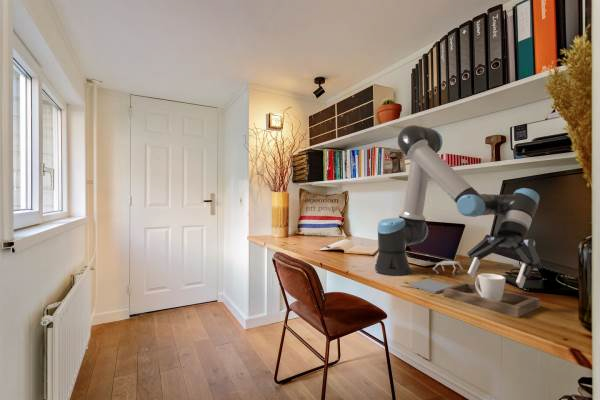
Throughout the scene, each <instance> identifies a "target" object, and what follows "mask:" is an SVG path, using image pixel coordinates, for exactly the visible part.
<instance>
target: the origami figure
mask: <svg viewBox="0 0 600 400" xmlns="http://www.w3.org/2000/svg"><path fill="white" fill-rule="evenodd" d="M455 265H457V266H459V270H457V273H458V274H460V272H461V271H463V270H464V269H463V267H462V265H461V263H460V261H455V260H454V261H453V260H442V261H439V262H436V264H435V266H434V267H432V270H433V271H435V272H436V273H435V275H438V274H439V273H440V272H439V271H438V270H436V268H438V266H441V268H442V272H445V267H444V266H452V267H453V271H452V272H451V274H452V275H453V276H454V275H455V271H456V269H457V267H456V266H455Z"/></svg>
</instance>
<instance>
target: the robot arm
mask: <svg viewBox="0 0 600 400" xmlns="http://www.w3.org/2000/svg"><path fill="white" fill-rule="evenodd" d="M397 136H398V137H397V145H398V147H399V149H400V151H401V152H402V153H403V154H404V155H405V156H406V157H407V158H408V159H409V160H410V163H409V169H408V176H407V183H406V190H405V197H404V204H403V211H402V212H401V213H399V215H398V217H391V218H383V219H381V220H379V221H378V223H377V245H378V247H377V248H378V249H377V250H378V254H377V258H376V262H375V264H374V271H375V270H376V271H377V272H376V271H375V272H376V273H378V272H380V273H379V274H381V273H383V274H382V275H386V274H389V275H388V276H403V275H405V276H407V275H408V274H411V271H412V270H411V269H412V268H411V265H410V263H409V260H408V257H407V252H406V250H407V249H406V248H407V246H411V245H417V244H419V243H423V242H424V241H425V240H426V239H427V237H428V235H429V227H428V226H427V223H426V217H425V215H424V214H423V213H424V206H425V201H426V195H427V189H428V182H429V177H430V178H431V179H432V180H433V181H434V182H435V183H436V184H437V185H438V186H439V187H440V188H441V189H442V190H443V191H444V193H446V194H447V195H448V196H449V197H450V198H451V200H452V201H454V203H456V209H457V211H458V213H459V214H461V215H462V216H464V217H469V218H470V217H472V218H475V217H480V216H504V217H503V218H502V221H501V223H500V225H499V228H498V230H497V233H496V234H497V235H495V236H491V235H490V234H485V236H484V237H483V239H482V240H481V241H480V242H478V243H477V244H476V245H475V246H473V247H472V248H471V249H470V250H469V251H467V252H466V254H467V256H468V257H469V258H470V260H469V263H468V266H469V269H468V271H467V274H468V275H469V277H470V278H471V279H474V278H475V276H476V272H477V271H478V269H479V266H480V264H481V261H480V260H482V259H484V258H485V257H486V258H487V257H488V256H489V255H491V254H493V253H495V252H499V251H501V252H505V251H506V252H510V253H512V252H516V253H517V254H518V256H519V257H520V259H521V260H522V261H523V263H522V264H521V267H520V270H519V272H518V275H517V278H516V280H515V283H516V285H517V287H518V288H521V289H523V287H524V284H525V282H526V278H528V279H529V278H530V277H531V276H532V273H533V270H535V269H538V270H542V269H543V266H542V263H541V260H540V257H539V254H538V252H537V251H536V248H537V247H536V245H537V243H536V241H535V240H534V238H533V237H529V238H528V239H526V238H527V235H528V232H529V229H530V227H531V224H532V221H533V218H534V216H535V214H536V211H537V209H538V207H539V203H540V195H539V194H538V193H537V191H535V190H534V189H531V188H526V187H522V188H519V189H516V190H515V191H514V192H513V194H489V193H488V194H487V193H479V192H478V191H477V190H476V189H475V188H474V187H473V186H472V185H470V184H469V183H468V182H467V181H466V180H465V179H464V178H463V177H462V176H461V175H460V174H459V173H458V172H457V171H456V170H455V169H454V168H453V167H452V166H451V165H450V164H448V163H447V162H446V161H445V160H444V159H443V158H442V157H441V156H440V155H439V154H438V153H439V152H440V151H441V149H442V147H443V137H442V135H441V133H440V132H439V131H438V130H435V129H433V128H431V127H430V128H429V127H424V126H419V125H416V124H415V125H413V124H412V125H408V126H405V127H404V128H403V129H402V130H401V131H400V132H399V134H398V135H397ZM525 245H526V247H527V248H528V249H529V252H530V254H531V258H532V260H533V261H531V259H529V258H528V256H527V255H526V254H525V253H524V251H523V250H522V248H521V247H523V246H525Z"/></svg>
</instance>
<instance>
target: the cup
mask: <svg viewBox="0 0 600 400" xmlns="http://www.w3.org/2000/svg"><path fill="white" fill-rule="evenodd" d="M474 281H475V282H474V284H475V286H476V289H477V291H478V293H479V294H478V293H477V294H478V295H479V296H480V297H484V298H488V299H491V300H495V301H499V302H502V301H503V300H502V296H503V292H504V291H505V284H506V277H505V276H503V275H501V274H496V273H480V274H477V276H476V277H475V280H474ZM478 285H480V288H481V291H480V289H479V287H478ZM481 292H482V293H481Z"/></svg>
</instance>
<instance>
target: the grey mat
mask: <svg viewBox="0 0 600 400" xmlns="http://www.w3.org/2000/svg"><path fill="white" fill-rule="evenodd" d="M407 285H410V286H413V287H416V288H415V289H417V288H419V289H418V290H420V289H422V290H421V291H424V290H426V291H425V292H427V291H429V292H428V293H431V292H432V293H431V294H434V293H437V294H440V293H444V290H443V289H444V288H447V287H451V286H454V285H453V284H449V283H444V282H440V281H436V280H432V279H428V278H427V279H422V280H418V281H414V282H410V283H408V284H407ZM410 286H409V287H410ZM413 287H412V288H413Z"/></svg>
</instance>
